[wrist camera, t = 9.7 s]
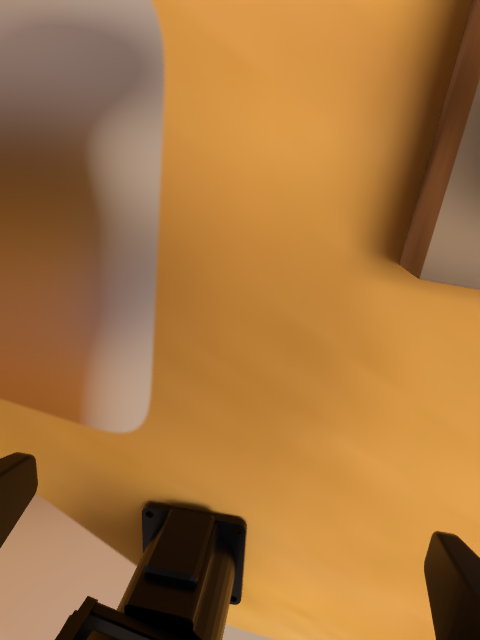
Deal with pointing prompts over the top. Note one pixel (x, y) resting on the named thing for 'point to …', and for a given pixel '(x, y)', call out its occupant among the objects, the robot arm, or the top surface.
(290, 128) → the top surface
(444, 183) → the walnut block
